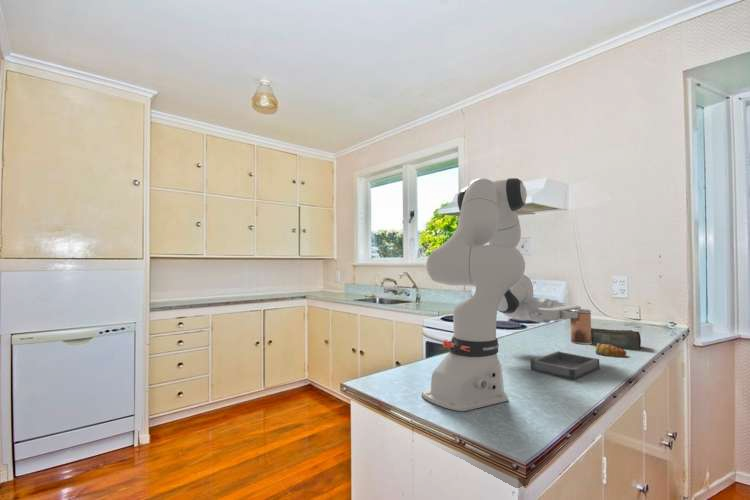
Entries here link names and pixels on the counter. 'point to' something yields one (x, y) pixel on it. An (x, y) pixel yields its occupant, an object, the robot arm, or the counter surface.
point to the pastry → (609, 350)
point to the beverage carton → (616, 338)
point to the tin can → (581, 327)
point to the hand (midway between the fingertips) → (583, 314)
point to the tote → (565, 365)
